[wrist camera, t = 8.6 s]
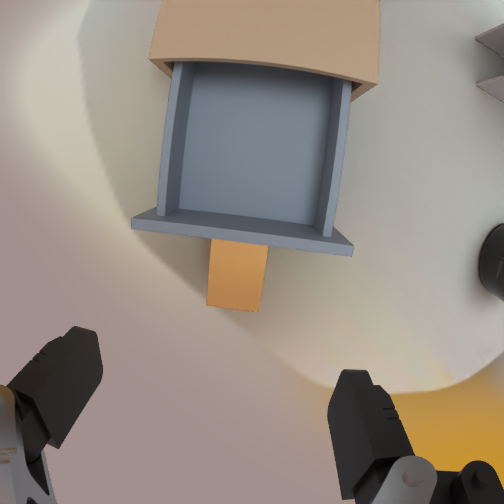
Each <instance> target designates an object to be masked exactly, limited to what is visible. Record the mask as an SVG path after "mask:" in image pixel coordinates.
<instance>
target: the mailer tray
mask: <svg viewBox="0 0 504 504" xmlns="http://www.w3.org/2000/svg"><path fill="white" fill-rule="evenodd" d="M351 86H352V81H350V80H346V79H342V78H337V77H332V76H328V75H323V74H317V73H312V72H306V71H300V70H294V69H287V68H280V67H272V66H264V65H254V64H243V63H229V62H205V61H175V64H174V70H173V75H172V81H171V87H170V93H169V100H168V107H167V114H166V121H165V129H164V137H163V146H162V155H161V165H160V176H159V188H158V202H157V207H155V208H153V209H151V210H148V211H146V212H144V213H142V214H139V215H137V216H135V217H133V218H131V229H137V230H145V231H154V232H162V233H170V234H178V235H186V236H194V237H202V238H210V239H212V240H211V252H210V264H209V276H208V289H207V304H206V305H208V306H215V307H222V308H229V309H237V310H244V311H252V312H259V307H260V301H261V294H262V287H263V280H264V273H265V267H266V260H267V253H268V246H273V247H281V248H289V249H296V250H304V251H312V252H319V253H327V254H334V255H342V256H349V257H352V254H353V250H354V245H353V244H351V243H350V242H349V241H348V240H347V239H346V238H345V237H344V236H343V235H342V234H341V233H340V232H339V231H338V230H337V229H335V228H334V227H333V223H334V218H335V212H336V206H337V200H338V193H339V187H340V180H341V173H342V166H343V159H344V152H345V144H346V136H347V127H348V118H349V108H350V98H351Z"/></svg>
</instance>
